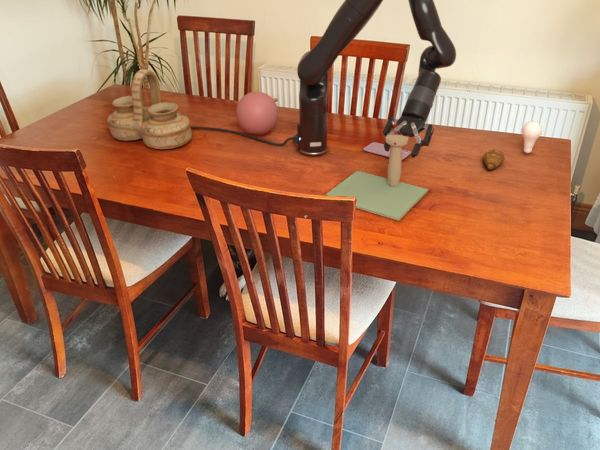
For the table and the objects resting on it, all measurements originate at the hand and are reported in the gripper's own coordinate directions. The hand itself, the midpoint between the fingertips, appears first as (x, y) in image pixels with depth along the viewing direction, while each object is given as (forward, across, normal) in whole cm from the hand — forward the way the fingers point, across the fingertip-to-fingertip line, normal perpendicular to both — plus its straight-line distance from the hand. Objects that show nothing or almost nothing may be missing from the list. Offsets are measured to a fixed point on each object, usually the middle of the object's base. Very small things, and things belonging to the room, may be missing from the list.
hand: (399, 153), depth 162 cm
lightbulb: (-23, +27, +38) cm, 52 cm away
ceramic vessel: (+18, -92, -4) cm, 94 cm away
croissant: (-14, +20, +28) cm, 37 cm away
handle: (+8, 0, +5) cm, 10 cm away
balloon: (-1, -61, +16) cm, 63 cm away
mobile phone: (-6, -13, +21) cm, 25 cm away
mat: (+14, -2, 0) cm, 14 cm away
